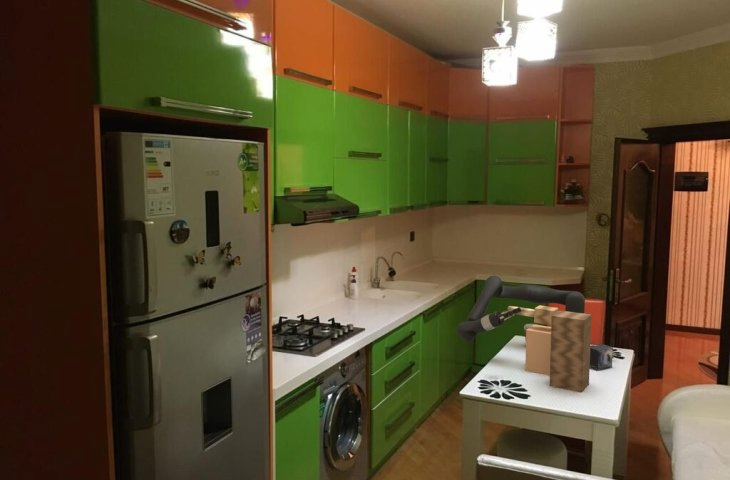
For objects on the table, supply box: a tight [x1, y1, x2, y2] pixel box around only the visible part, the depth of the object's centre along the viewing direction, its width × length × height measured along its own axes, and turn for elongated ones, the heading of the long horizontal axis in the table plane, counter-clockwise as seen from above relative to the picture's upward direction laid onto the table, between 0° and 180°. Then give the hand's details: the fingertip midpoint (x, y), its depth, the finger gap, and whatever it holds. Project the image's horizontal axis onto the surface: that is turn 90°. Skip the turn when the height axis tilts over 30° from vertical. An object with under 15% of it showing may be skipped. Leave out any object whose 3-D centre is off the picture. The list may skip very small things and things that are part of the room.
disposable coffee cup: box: [523, 323, 538, 341], centre depth 314 cm, size 10×10×12 cm
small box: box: [590, 343, 614, 372], centre depth 280 cm, size 11×6×10 cm, turn 117°
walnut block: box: [549, 310, 593, 393], centre depth 256 cm, size 14×12×32 cm
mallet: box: [507, 305, 559, 326], centre depth 279 cm, size 23×7×7 cm, turn 55°
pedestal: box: [524, 324, 551, 376], centre depth 277 cm, size 14×12×20 cm
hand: (521, 308), depth 281 cm, fingers closed on mallet, 3 cm apart
